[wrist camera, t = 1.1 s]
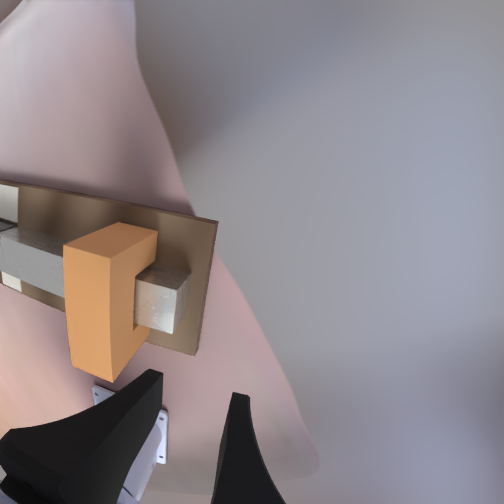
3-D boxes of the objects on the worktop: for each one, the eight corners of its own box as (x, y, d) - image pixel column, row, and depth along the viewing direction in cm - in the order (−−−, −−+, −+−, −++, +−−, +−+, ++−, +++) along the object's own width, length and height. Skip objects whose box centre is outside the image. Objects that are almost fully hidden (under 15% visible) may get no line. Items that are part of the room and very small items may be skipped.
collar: (158, 231, 19) (110, 258, 14) (149, 334, 22) (112, 382, 16) (118, 222, 19) (63, 244, 14) (114, 322, 22) (72, 365, 16)
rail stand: (218, 221, 20) (202, 235, 16) (198, 348, 23) (183, 381, 19) (-21, 176, 21) (-50, 181, 17) (-18, 267, 24) (-43, 279, 20)
